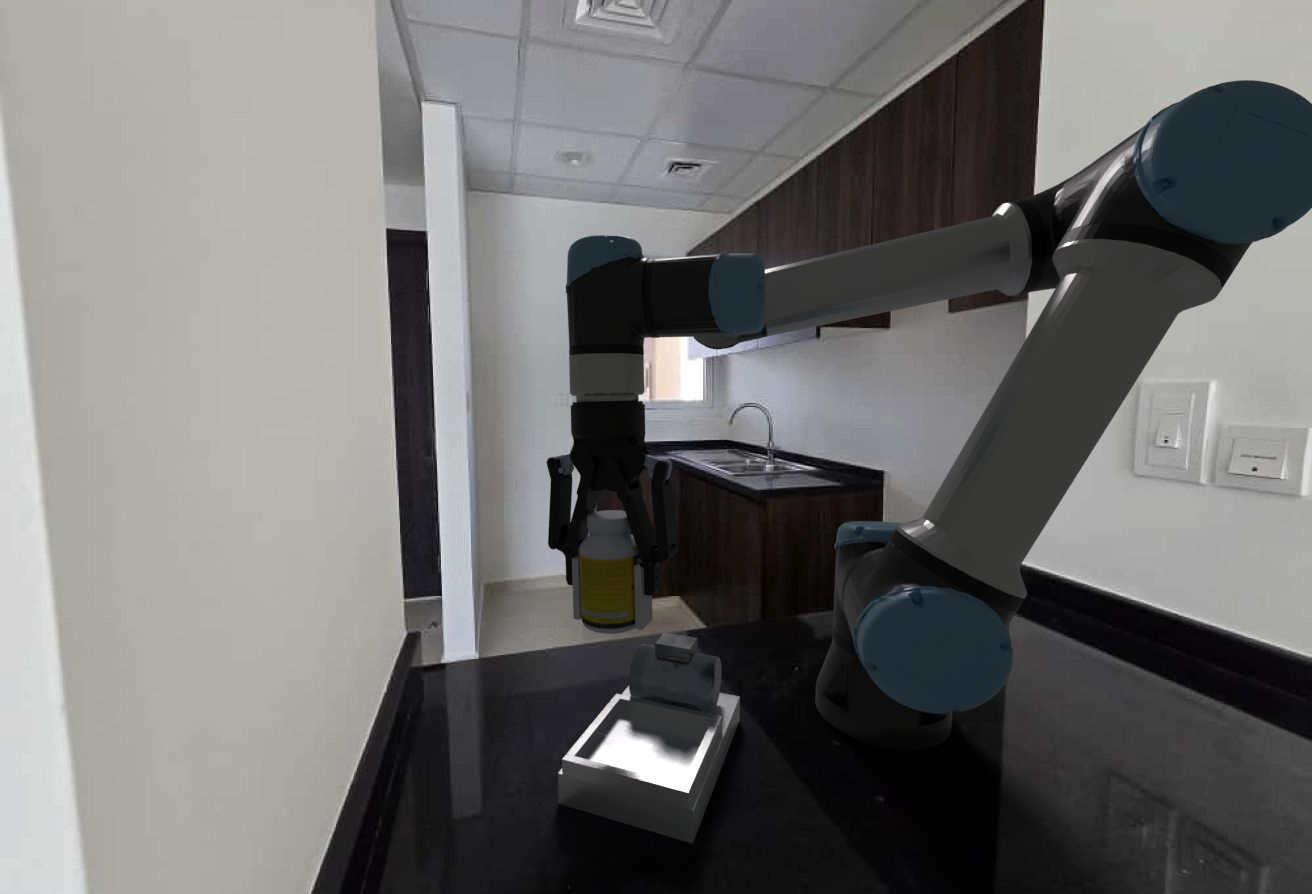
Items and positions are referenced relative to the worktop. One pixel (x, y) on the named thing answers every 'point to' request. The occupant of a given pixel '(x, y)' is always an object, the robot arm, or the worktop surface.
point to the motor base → (655, 743)
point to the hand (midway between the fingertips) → (612, 618)
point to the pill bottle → (608, 573)
